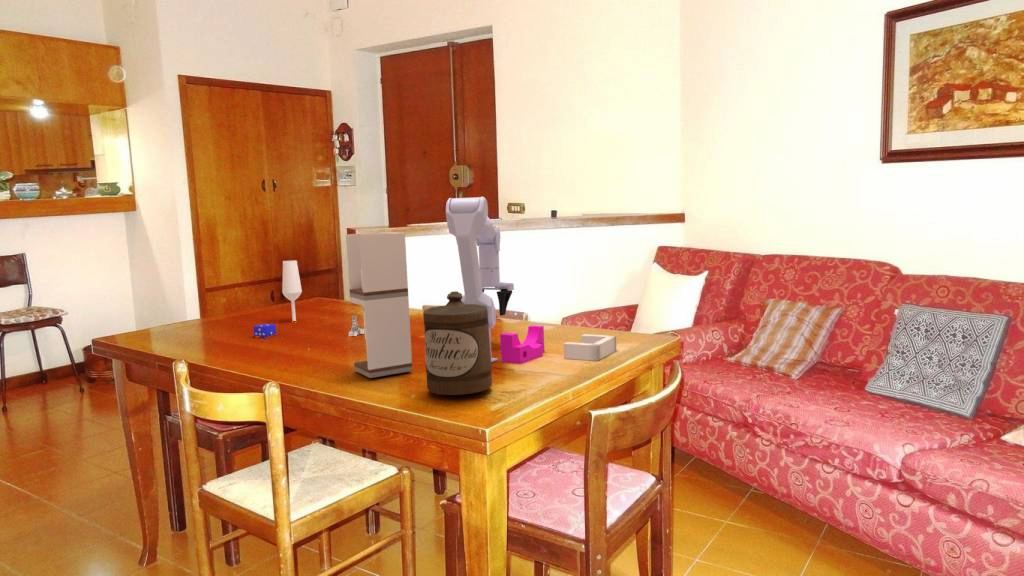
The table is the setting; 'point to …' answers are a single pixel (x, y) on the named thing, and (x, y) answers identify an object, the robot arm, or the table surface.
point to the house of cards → (355, 328)
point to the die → (264, 330)
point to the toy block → (522, 346)
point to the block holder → (590, 347)
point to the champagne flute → (291, 283)
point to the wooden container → (457, 347)
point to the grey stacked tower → (381, 300)
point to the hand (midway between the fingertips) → (491, 314)
